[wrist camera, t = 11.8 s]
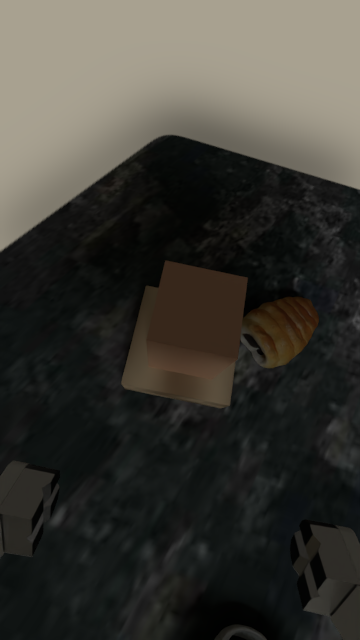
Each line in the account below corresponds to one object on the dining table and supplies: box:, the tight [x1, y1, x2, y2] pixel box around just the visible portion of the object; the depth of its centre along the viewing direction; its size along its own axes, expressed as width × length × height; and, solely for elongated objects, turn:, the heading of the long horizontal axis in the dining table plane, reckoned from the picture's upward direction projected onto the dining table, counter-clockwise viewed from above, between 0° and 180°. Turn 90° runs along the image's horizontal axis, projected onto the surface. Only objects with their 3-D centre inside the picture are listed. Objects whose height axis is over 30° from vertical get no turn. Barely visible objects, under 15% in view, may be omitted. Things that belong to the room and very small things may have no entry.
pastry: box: [240, 297, 319, 368], centre depth 33 cm, size 9×7×4 cm
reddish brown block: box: [146, 260, 248, 380], centre depth 25 cm, size 6×6×9 cm
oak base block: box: [121, 286, 235, 408], centre depth 31 cm, size 10×10×4 cm
